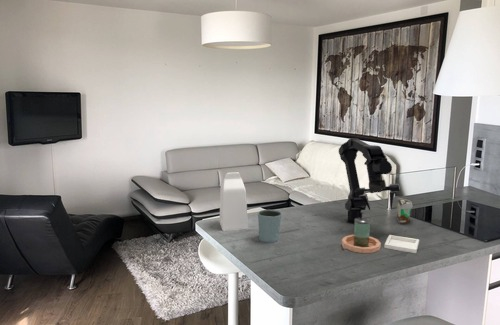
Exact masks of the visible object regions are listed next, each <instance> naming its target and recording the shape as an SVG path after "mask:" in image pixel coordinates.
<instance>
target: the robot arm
mask: <svg viewBox="0 0 500 325" xmlns="http://www.w3.org/2000/svg"><path fill="white" fill-rule="evenodd" d="M358 152H360V153H362V157H364V159H365V162H364V165H365V166H366V170H367V178H368V188H366V187H365V186H364V187H361V186H360V182H359V176H358V172H357V166H356V159H357V156H358V154H357V153H358ZM338 154H339V157H340V160H341V161H342V162H343V163H344V165H345V171H346V176H347V181H348V187H349V193H348V196H347V200H346V202H345V203H344V207H345V208H344V209H345V210H347V220H346V223H352V224H355V218H364V212H363V211H365V210H366V207H367V209H368V210H369V211H371V204H370V201H369V198H368V197H369V196H368V194H375V193H381V192H385V191H389V204H390V205H389V206H390V208H393V203H394V197H395V194H397V193H398V192H400V190H401V187H400V184H399V183H390V184H389V185H388V186H387V184H386V181H385V180H386V179H383V176H382V175H389V174H390V173H391V172H392V169H393V165H392V163H391V162H390V161H388V158H387V156H386V155H385V153H384V151H383V149H382V146H379V145H375V144H374V145H373V144H369V143H366V142H365V141H362V140H361V139H360V138H358V137H357V138H349V139H348V140H347V141H346V142H344V143H343V144H341V146H340V147H338Z"/></svg>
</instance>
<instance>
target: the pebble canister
mask: <svg viewBox="0 0 500 325" xmlns="http://www.w3.org/2000/svg"><path fill="white" fill-rule="evenodd" d="M370 228H371V219H369V218H366V217H363V218H355V223H354V228H353V229H354V230H353V232H354V233H353V235H354V246H358V247H369V236H370V231H371V230H370Z"/></svg>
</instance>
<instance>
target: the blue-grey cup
mask: <svg viewBox="0 0 500 325" xmlns="http://www.w3.org/2000/svg"><path fill="white" fill-rule="evenodd" d="M257 219H258V221H257V222H258V234H259V235H258V239H259V241H260V242H262V243H265V244H266V243H267V244H271V243H276V242H278V241H279V238H280V228H281V220H282V212H281V211H278V210H276V209H275V210H274V209H262V210H259V211H258V212H257Z"/></svg>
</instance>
